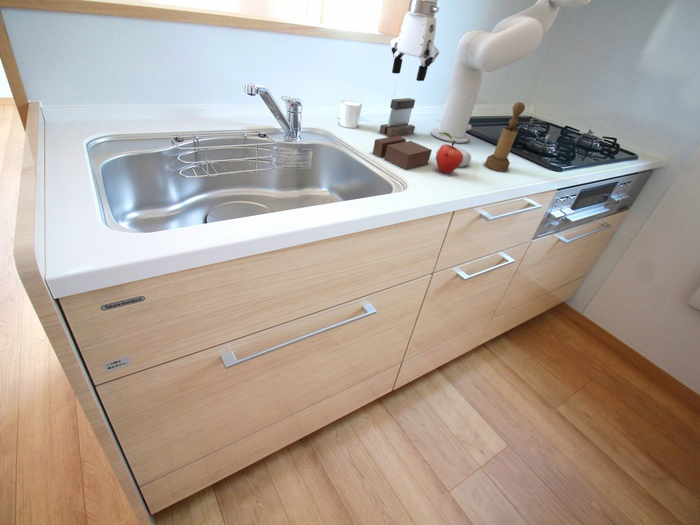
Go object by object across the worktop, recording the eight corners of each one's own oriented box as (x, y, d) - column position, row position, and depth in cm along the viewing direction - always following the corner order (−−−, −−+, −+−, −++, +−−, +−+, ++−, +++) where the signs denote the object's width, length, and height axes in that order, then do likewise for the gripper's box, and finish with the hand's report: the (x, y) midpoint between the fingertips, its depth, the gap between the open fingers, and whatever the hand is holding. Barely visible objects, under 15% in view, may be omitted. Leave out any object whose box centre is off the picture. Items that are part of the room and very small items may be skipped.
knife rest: (402, 129, 127) (404, 121, 126) (413, 133, 125) (415, 126, 123) (379, 132, 120) (380, 124, 118) (390, 137, 117) (392, 129, 116)
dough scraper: (403, 130, 126) (410, 97, 120) (408, 132, 125) (416, 99, 119) (384, 133, 120) (390, 99, 114) (389, 135, 119) (396, 101, 112)
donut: (434, 164, 103) (470, 170, 102) (437, 152, 101) (474, 158, 100) (435, 153, 111) (468, 159, 110) (437, 141, 109) (471, 147, 108)
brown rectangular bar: (395, 149, 108) (398, 135, 106) (403, 152, 107) (406, 138, 105) (372, 153, 102) (375, 139, 100) (380, 157, 101) (383, 143, 98)
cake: (407, 154, 106) (410, 140, 104) (428, 163, 102) (432, 149, 100) (384, 159, 100) (387, 145, 98) (405, 169, 96) (409, 154, 94)
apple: (454, 168, 102) (466, 132, 96) (460, 178, 96) (472, 140, 90) (427, 164, 101) (437, 128, 95) (431, 174, 96) (442, 136, 90)
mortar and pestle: (511, 172, 106) (538, 106, 96) (493, 171, 104) (518, 105, 94) (498, 163, 111) (522, 100, 101) (480, 162, 109) (503, 98, 99)
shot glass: (340, 120, 125) (342, 99, 121) (359, 124, 125) (363, 102, 121) (336, 126, 119) (339, 103, 115) (357, 129, 119) (360, 107, 115)
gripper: (455, 15, 100) (437, 83, 110) (406, 7, 109) (394, 70, 119) (439, 12, 95) (422, 84, 105) (390, 4, 104) (379, 70, 114)
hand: (407, 76), depth 112 cm, fingers open, 9 cm apart
